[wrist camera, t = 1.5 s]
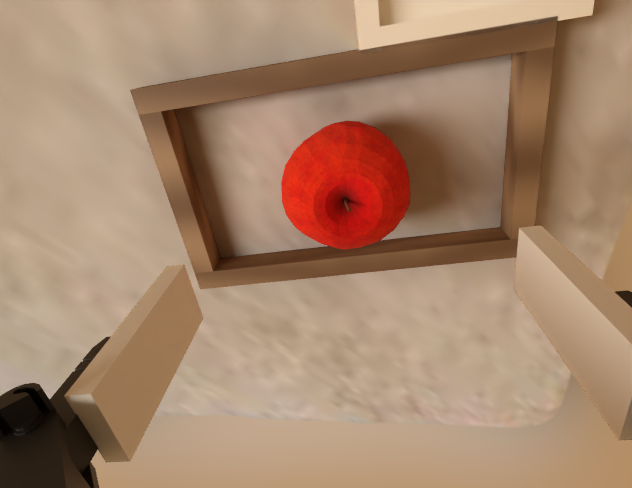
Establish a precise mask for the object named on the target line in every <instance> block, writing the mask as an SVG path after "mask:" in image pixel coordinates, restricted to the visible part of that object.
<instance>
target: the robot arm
mask: <svg viewBox="0 0 632 488" xmlns="http://www.w3.org/2000/svg"><path fill="white" fill-rule="evenodd" d="M514 291H515V292H516V294H517V295H518V297H519V298H520V299H521V301H522V302H523V304H524V305H525V307H526V308H527V309H528V311H529V312H530V314H531V315H532V317H533V318H534V319H535V321H536V322H537V324H538V325H539V327H540V328H541V329H542V331H543V332H544V334H545V335H546V337H547V338H548V339H549V341H550V342H551V344H552V345H553V347H554V348H555V349H556V351H557V352H558V354H559V355H560V357H561V358H562V359H563V361H564V362H565V364H566V365H567V367H568V368H569V369H570V371H571V372H572V374H573V375H574V377H575V378H576V379H577V381H578V382H579V384H580V385H581V387H582V388H583V390H584V391H585V392H586V394H587V395H588V397H589V398H590V400H591V401H592V402H593V404H594V405H595V407H596V408H597V410H598V411H599V412H600V414H601V415H602V417H603V418H604V420H605V421H606V422H607V424H608V425H609V427H610V428H611V430H612V431H613V432H614V434H615V435H616V436H617V438H618V439H619V440H632V292H630V291H617V292H614V291H613V290H611V289H610V288H609V287H608V286H607V285H606V284H605V283H604V282H603V281H602V280H601V279H600V278H598V277H597V276H596V275H595V274H594V273H593V272H592V271H591V270H590V269H589V268H587V267H586V266H585V265H584V264H583V263H582V262H581V261H580V260H579V259H578V258H576V257H575V256H574V255H573V254H572V253H571V252H570V251H569V250H568V249H567V248H565V247H564V246H563V245H562V244H561V243H560V242H559V241H558V240H557V239H556V238H554V237H553V236H552V235H551V234H550V233H549V232H548V231H547V230H546V229H545V228H543V227H542V226H541V225H540V226H531V227H522V228H519V235H518V247H517V258H516V269H515V280H514ZM202 319H203V316H202V313H201V310H200V307H199V305H198V302H197V299H196V296H195V293H194V291H193V288H192V285H191V282H190V279H189V277H188V274H187V271H186V268H185V266H184V265H176V266H167V267H166V268H165V269H164V271H163V272H162V273H161V274H160V276H159V277H158V278H157V279H156V281H155V282H154V283H153V284H152V286H151V287H150V288H149V289H148V291H147V292H146V293H145V295H144V296H143V297H142V298H141V300H140V301H139V302H138V303H137V305H136V306H135V307H134V308H133V310H132V311H131V312H130V313H129V315H128V316H127V317H126V318H125V320H124V321H123V322H122V324H121V325H120V326H119V327H118V329H117V330H116V331H115V332H114V334H113V335H112V336H111V337H106V338H105V339H103V340H102V341H101V342H99V343H98V344H97V345H96V346H94V347H93V348H92V349H91V350H90V352H89V353H88V354H87V355H86V356H85V358H84V359H83V362H81V363H80V364H79V365H78V366H77V367H76V369H75V372H72V373H71V375H70V376H69V377H68V378H67V379H66V381H65V382H64V383H63V384H62V386H61V387H60V388H59V389H58V390H57V392H56V393H55V394H54V395H53V396H52V398H51V399H50V400H49V398H48V397H47V395H46V394H45V392H44V391H43V389H42V388H41V386H40V385H39V384H36V383H29V384H24V385H21V386H18V387H16V388H13V389H11V390H10V391H8V392H6V393H4V394H3V395H1V396H0V488H99V485H98V480H97V475H96V471H95V468H94V467H93V465H92V463H91V462H90V461H91V460H92V458H93V456H94V455H95V453H96V451H97V450H99V452H100V453H101V455H102V457H103V458H104V460H105V461H106V462H123V461H130V460H131V459H132V457H133V454H134V453H135V451H136V449H137V447H138V445H139V443H140V441H141V439H142V437H143V435H144V433H145V431H146V429H147V427H148V425H149V423H150V421H151V419H152V417H153V415H154V413H155V411H156V410H157V408H158V406H159V404H160V402H161V400H162V398H163V396H164V394H165V392H166V390H167V388H168V386H169V384H170V382H171V380H172V378H173V376H174V374H175V372H176V370H177V368H178V366H179V364H180V362H181V360H182V359H183V357H184V355H185V353H186V351H187V349H188V347H189V345H190V343H191V341H192V339H193V337H194V335H195V333H196V331H197V329H198V327H199V325H200V323H201V321H202Z"/></svg>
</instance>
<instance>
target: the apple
mask: <svg viewBox="0 0 632 488" xmlns="http://www.w3.org/2000/svg"><path fill="white" fill-rule="evenodd" d="M281 185H282V203H283V206H284V209H285V212H286V215H287V216H288V218H289V219H290V221H291V222H292V223H293V225H294V226H295V227H296V228H297V229H298V230H300V231H301V232H302V233H303V234H305V235H306V236H308V237H310V238H312V239H314V240H316V241H317V242H319V243H321V244H324V245H328V246H331V247H334V248H338V249H353V248H360V247H363V246H366V245H369V244H372V243H375V242H378V241H380V240H381V239H383V238H384V237H385V236H387V235H388V234H389V233H390V232H392V231H393V230H394V229H395V228H396V226H397V225H398V224H399V222H400V221H401V219H402V218H403V217H404V215H405V213H406V210H407V208H408V206H409V203H410V186H409V176H408V172H407V168H406V164H405V161H404V159H403V157H402V156H401V154H400V152H399V150H398V149H397V148H396V146H395V145H394V144H393V142H392V141H391V139H389V138H388V137H387V136H385V135H384V134H383V133H381V132H380V131H378V130H377V129H376V128H374V127H371V126H369V125H366V124H364V123H361V122H355V121H343V122H338V123H334V124H331V125H329V126H326V127H324V128H322V129H321V130H319V131H318V132H316V133H315V134H314V135H312V136H311V137H309V138H308V139H306V140H305V141H304V142H303V143H302V144H301V145H300V146H299V147H298V148H297V149H296V150H295V151H294V152H293V154H292V156H291V158H290V159H289V161H288V162H287V164H286V165H285V169H284V173H283V178H282V182H281Z"/></svg>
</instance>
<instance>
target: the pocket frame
mask: <svg viewBox="0 0 632 488" xmlns="http://www.w3.org/2000/svg"><path fill="white" fill-rule="evenodd" d="M556 17H558V16H555V18H556ZM549 18H551V17H548V18H546V19H545V18H544V19H545V20H544V19H543V18H542V19H543V20H544V22H543V21H541V20H540V19H539V20H540V22H539V23H541V22H542V23H543V24H538V19H537V20H536V22H537V24H536V25H535V23H534V22H535V20H534V22H533V24H534V25H532V24H530V25H528V26H527V25H526V24H525V23H527V24H529V23H530V21H529V23H528V22H525V23H524V24H522V23H521V22H520V23H518V25H517V23H513V24H515V25H514V26H516V25H517V26H516V27H517V28H516V27H514V26H512V25H513V24H508V26H512V27H510V28H507V27H508V26H506V28H507V29H506V28H505V27H504V26H498V27H501V29H500V30H501V31H498V30H499V29H498V28H497V26H496V27H495V28H494V27H493V28H494V29H493V28H492V27H491V28H492V29H491V28H490V30H491V31H490V30H488V29H489V28H488V29H487V31H486V28H485V29H482V30H480V29H479V30H478V31H475V30H473V31H474V32H473V31H471V33H470V31H469V32H468V31H467V32H468V33H470V34H472V32H473V36H472V35H470V34H469V35H468V33H465V34H464V33H463V32H462V33H463V34H462V35H464V36H463V37H462V36H461V34H460V36H461V37H460V36H459V35H458V33H456V35H455V34H451V36H452V35H453V36H452V38H453V37H454V36H455V37H454V38H453V39H452V38H451V36H450V35H447V36H448V37H447V36H446V35H444V36H439V38H438V37H437V38H436V37H435V38H434V37H433V38H427V39H425V40H423V39H421V40H419V42H420V43H419V42H418V41H417V40H416V41H415V42H414V41H413V42H412V41H410V42H404V44H403V43H401V44H400V43H398V44H400V45H398V44H393V45H387V46H386V47H385V46H381V47H380V48H379V47H377V48H379V49H377V48H371V49H370V48H369V49H370V52H368V51H369V50H368V49H364V51H362V50H361V51H362V52H363V53H362V52H361V51H360V50H353V51H347V52H341V53H336V54H330V55H324V56H318V57H313V58H307V59H301V60H295V61H290V62H284V63H278V64H272V65H267V66H261V67H255V68H249V69H244V70H238V71H232V72H226V73H221V74H215V75H209V76H203V77H198V78H192V79H186V80H180V81H175V82H169V83H163V84H157V85H152V86H146V87H141V88H137V89H133V90H130V91H131V94H132V97H133V100H134V103H135V106H136V108H137V111H138V114H139V117H140V120H141V123H142V125H143V128H144V131H145V134H146V137H147V139H148V142H149V145H150V148H151V151H152V154H153V156H154V159H155V162H156V165H157V168H158V171H159V173H160V176H161V179H162V182H163V185H164V188H165V190H166V193H167V196H168V199H169V202H170V204H171V207H172V210H173V213H174V216H175V219H176V221H177V224H178V227H179V230H180V233H181V236H182V238H183V241H184V244H185V247H186V250H187V253H188V255H189V258H190V261H191V264H192V267H193V270H194V272H195V275H196V278H197V281H198V284H199V286H200V289H207V288H217V287H227V286H237V285H246V284H256V283H266V282H276V281H286V280H296V279H306V278H316V277H325V276H335V275H345V274H355V273H365V272H375V271H385V270H395V269H404V268H414V267H424V266H434V265H444V264H454V263H464V262H474V261H483V260H493V259H503V258H513V257H517V247H518V235H519V228H522V227H531V226H535V218H536V209H537V200H538V191H539V182H540V173H541V165H542V156H543V147H544V138H545V129H546V120H547V111H548V102H549V93H550V85H551V76H552V67H553V58H554V49H555V40H556V31H557V22H558V21H557V20H558V18H556V19H557V20H556V19H555V18H551V19H555V20H554V21H555V22H554V21H553V20H551V21H549V20H547V19H549ZM546 20H547V21H546ZM548 21H549V23H545V22H548ZM531 23H532V20H531ZM519 24H520V25H519ZM521 24H522V25H521ZM524 25H525V26H526V27H523V26H524ZM518 26H519V28H518ZM502 28H503V29H502ZM504 28H505V29H504ZM495 29H496V30H497V32H496V31H495ZM483 30H484V31H485V32H483ZM492 30H493V31H492ZM489 31H490V32H489ZM494 31H495V32H494ZM476 32H477V33H476ZM478 32H479V33H480V34H479V33H478ZM482 33H485V34H482ZM465 35H466V36H465ZM449 36H450V37H449ZM456 36H457V37H456ZM442 37H444V39H443V38H442ZM445 38H446V39H445ZM447 38H448V39H447ZM449 38H450V39H449ZM430 40H431V41H430ZM436 40H438V41H436ZM425 41H426V42H425ZM427 41H428V42H427ZM417 42H418V43H417ZM424 42H425V43H424ZM423 43H424V44H423ZM410 44H411V45H410ZM420 44H421V45H420ZM394 45H395V46H394ZM401 45H402V46H401ZM403 45H404V46H403ZM391 46H392V47H391ZM393 46H394V47H393ZM384 47H385V48H384ZM399 47H400V48H399ZM388 48H389V49H390V50H389V49H388ZM372 49H373V50H372ZM375 49H377V50H378V51H379V52H378V51H377V50H375ZM383 49H384V50H383ZM365 50H366V51H365ZM380 50H381V51H380ZM359 51H360V52H359ZM372 51H374V52H375V51H376V52H375V53H373V52H372ZM364 52H366V53H365V54H364ZM371 52H372V53H371ZM506 54H512V66H511V80H510V95H509V110H508V124H507V139H506V154H505V168H504V183H503V198H502V213H501V227H499V228H490V229H481V230H472V231H463V232H454V233H445V234H436V235H427V236H418V237H409V238H400V239H391V240H382V241H378V242H375V243H372V244H369V245H366V246H363V247H360V248H353V249H338V248H334V247H331V246H328V247H319V248H310V249H301V250H292V251H283V252H274V253H265V254H256V255H247V256H238V257H229V258H220V256H219V253H218V249H217V246H216V243H215V240H214V236H213V233H212V230H211V227H210V224H209V220H208V217H207V214H206V211H205V208H204V204H203V201H202V198H201V195H200V192H199V188H198V185H197V182H196V179H195V176H194V172H193V169H192V166H191V163H190V160H189V156H188V153H187V150H186V147H185V143H184V140H183V137H182V134H181V131H180V127H179V124H178V121H177V118H176V115H175V111H174V109H178V108H184V107H190V106H196V105H202V104H208V103H214V102H221V101H227V100H233V99H239V98H245V97H251V96H257V95H263V94H269V93H275V92H281V91H287V90H293V89H300V88H306V87H312V86H318V85H324V84H330V83H336V82H342V81H348V80H354V79H360V78H366V77H373V76H379V75H385V74H391V73H397V72H403V71H409V70H415V69H421V68H427V67H433V66H439V65H446V64H452V63H458V62H464V61H470V60H476V59H482V58H488V57H494V56H500V55H506Z"/></svg>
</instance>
